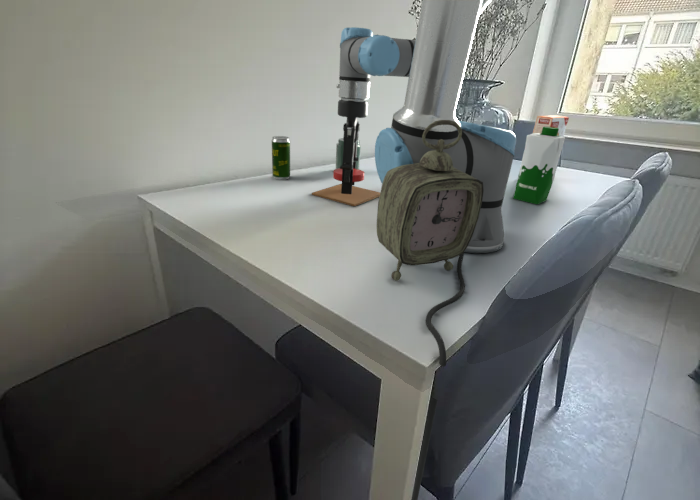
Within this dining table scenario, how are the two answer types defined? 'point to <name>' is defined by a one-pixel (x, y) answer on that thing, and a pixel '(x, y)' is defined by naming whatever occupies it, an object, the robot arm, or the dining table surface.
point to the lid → (357, 175)
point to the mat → (347, 195)
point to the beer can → (281, 157)
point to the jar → (340, 153)
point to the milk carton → (539, 165)
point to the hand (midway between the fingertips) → (348, 188)
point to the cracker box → (551, 123)
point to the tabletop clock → (428, 208)
